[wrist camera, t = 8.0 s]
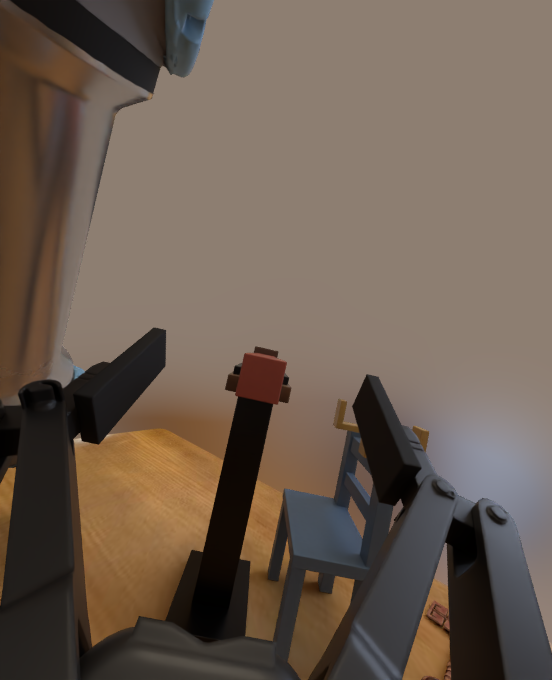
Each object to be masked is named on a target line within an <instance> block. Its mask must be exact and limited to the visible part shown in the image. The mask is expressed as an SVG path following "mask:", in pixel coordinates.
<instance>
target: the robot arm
mask: <svg viewBox="0 0 552 680" xmlns="http://www.w3.org/2000/svg"><path fill="white" fill-rule="evenodd" d="M213 1H214V0H0V483H1V481H2V479H3V477H4V475H5V473H6V471H7V469H8V468H14V467H16V474H15V483H14V492H13V501H12V510H11V519H10V528H9V537H8V546H7V555H6V564H5V573H4V582H3V591H2V599H1V605H0V680H301V679H300V678H299V676H298V675H297V673H296V672H295V671H294V669H293V668H292V667H291V666H290V665H289V664H288V663H287V662H286V661H285V660H284V659H283V658H282V657H281V656H279V655H278V654H276V642H273V641H267V640H262V639H257V638H252V637H246V636H240V637H235V638H230V639H225V640H220V641H215V642H210V643H205V642H202V641H201V640H199V639H198V638H196V637H195V636H193V635H191V634H190V633H188V632H187V631H185V630H184V629H182V628H181V627H179V626H178V625H176V624H175V623H173V622H168V621H162V620H157V619H152V618H147V617H141V616H139V618H138V620H137V623H136V625H135V627H130V628H126V629H124V630H121V631H118V632H116V633H114V634H112V635H110V636H108V637H107V638H105V639H103V640H102V641H100V642H99V643H97V644H96V645H95V646H93V647H92V643H91V633H90V625H89V619H88V612H87V601H86V588H85V575H84V563H83V550H82V537H81V524H80V512H79V499H78V486H77V473H76V461H75V448H74V440H73V439H74V438H75V437H76V436H77V435H78V434H79V433H80V434H81V439H82V441H84V442H89V443H93V444H98V445H99V444H100V442H101V441H102V440H103V439H104V438H105V437H106V435H107V434H108V433H109V432H110V431H111V430H112V428H113V427H114V426H115V425H116V424H117V422H118V421H119V420H120V419H121V418H122V416H123V415H124V414H125V413H126V412H127V410H128V409H129V408H130V407H131V406H132V405H133V403H134V402H135V401H136V400H137V399H138V398H139V397H140V395H141V394H142V393H143V392H144V391H145V389H146V388H147V387H148V386H149V385H150V384H151V382H152V381H153V380H154V379H155V378H156V377H157V375H158V374H159V373H160V372H161V370H162V369H163V368H164V367H165V359H166V330H163V329H159V328H153V329H152V330H150V331H149V332H148V333H147V334H145V335H144V336H143V337H142V338H141V339H139V340H138V341H137V342H136V343H134V344H133V345H132V346H131V347H129V348H128V349H127V350H126V351H125V352H123V353H122V354H121V355H120V356H118V357H117V358H116V359H115V360H114V361H112V362H111V363H108V362H101V363H98V364H96V365H94V366H92V367H90V368H89V369H88V370H87V371H85V372H84V370H83V369H81V368H79V367H76V366H74V365H73V361H72V358H71V356H70V354H69V353H68V352H67V350H66V349H65V348H64V347H63V346H62V344H63V340H64V335H65V331H66V327H67V322H68V318H69V314H70V309H71V305H72V301H73V296H74V292H75V288H76V283H77V279H78V275H79V270H80V265H81V262H82V257H83V253H84V249H85V244H86V240H87V236H88V231H89V227H90V223H91V218H92V214H93V210H94V205H95V201H96V197H97V193H98V188H99V184H100V179H101V175H102V171H103V166H104V162H105V158H106V154H107V149H108V145H109V141H110V136H111V132H112V128H113V124H114V119H115V115H116V114H117V112H118V111H119V110H120V109H122V108H123V107H126V106H130V105H133V104H136V103H139V102H143V101H146V100H150V99H152V96H153V92H154V88H155V85H156V81H157V78H158V74H159V71H160V68H161V66H165V67H166V68H167V69H168V71H169V73H170V74H171V75H172V74H175V75H178V76H180V77H186V76H188V75H189V74H190V72H191V70H192V69H193V66H194V64H195V61H196V58H197V56H198V53H199V50H200V45H201V41H202V37H203V34H204V29H205V24H206V19H207V18H208V16H209V13H210V9H211V7H212V4H213ZM352 407H353V411H354V414H355V418H356V421H357V425H358V429H359V432H360V436H361V439H362V443H363V447H364V450H365V454H366V457H367V461H368V465H369V468H370V472H371V475H372V478H373V483H374V486H375V490H376V493H377V497H378V501H379V503H383V504H388V505H393V506H395V505H396V504H397V502H398V501H399V499H400V498H401V501H402V503H403V506H404V507H403V508H402V510H401V511H400V512H399V514H398V515H397V517H396V518H395V519H394V521H395V522H394V524H393V526H392V528H391V530H390V532H389V534H388V535H387V537H386V539H385V541H384V543H383V545H382V547H381V548H380V550H379V552H378V554H377V556H376V558H375V560H374V562H373V563H372V565H371V567H370V569H369V571H368V573H367V575H366V576H365V578H364V580H363V582H362V584H361V586H360V588H359V589H358V591H357V593H356V595H355V597H354V599H353V601H352V603H351V604H350V606H349V608H348V610H347V612H346V614H345V616H344V617H343V619H342V621H341V623H340V625H339V627H338V629H337V630H336V632H335V634H334V636H333V638H332V640H331V642H330V644H329V645H328V647H327V649H326V651H325V653H324V655H323V656H322V658H321V660H320V661H319V663H318V664H317V666H316V667H315V669H314V670H313V672H312V674H311V675H310V677H309V679H308V680H402V677H403V674H404V671H405V667H406V664H407V661H408V658H409V655H410V652H411V648H412V645H413V642H414V639H415V636H416V633H417V629H418V626H419V623H420V620H421V617H422V614H423V610H424V607H425V604H426V601H427V598H428V595H429V591H430V588H431V585H432V582H433V579H434V575H435V572H436V569H437V566H438V563H439V560H440V556H441V553H442V550H443V547H444V544H445V543H447V565H448V597H449V629H450V660H451V680H552V652H551V648H550V645H549V641H548V637H547V634H546V630H545V627H544V623H543V620H542V616H541V612H540V609H539V605H538V602H537V598H536V594H535V591H534V587H533V584H532V580H531V577H530V573H529V569H528V566H527V563H526V559H525V555H524V552H523V548H522V544H521V541H520V537H519V534H518V530H517V527H516V524H515V522H514V520H513V518H512V517H511V516H510V514H509V513H508V512H507V511H506V510H505V509H504V508H503V507H501V506H500V505H498V504H497V503H495V502H494V501H492V500H489V499H484V498H482V499H481V500H479V501H478V502H477V503H476V504H475V503H473V502H471V501H469V500H467V499H465V498H463V497H461V496H459V495H457V493H456V490H455V489H454V488H453V486H452V485H451V484H450V483H449V482H447V481H446V480H445V479H443V478H442V477H440V476H438V475H437V473H436V472H435V470H434V468H433V466H432V464H431V462H430V460H429V458H428V456H427V454H426V452H424V449H423V447H422V445H421V444H420V441H419V439H418V437H417V435H416V434H415V433H414V432H413V431H412V430H411V429H410V428H409V427H407V426H402V425H401V423H400V421H399V419H398V417H397V415H396V413H395V411H394V409H393V407H392V404H391V402H390V401H389V398H388V396H387V394H386V392H385V390H384V388H383V386H382V384H381V382H380V380H379V377H376V376H372V375H366V378H365V379H364V382H363V384H362V386H361V388H360V391H359V393H358V395H357V397H356V399H355V402H354V404H353V406H352Z"/></svg>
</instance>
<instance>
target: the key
mask: <svg viewBox="0 0 552 680" xmlns="http://www.w3.org/2000/svg"><path fill="white" fill-rule="evenodd" d="M435 606H436V608H435V609H434V607H435ZM432 611H433V614H432V615H430V614H431V612H432ZM447 613H448V609H447V608H445V607H444V606H442V605H441V604H439V603H438V602H436V601H433V603H432V605H431V607H430V609H429V610H428V612H427V616H428V617H429V618H431V619H432V620H434V621H435V622H436V623H438V624H439V625H441V626H442V624H443V622H444V619H445V620H446V622H445V624H444V628H445V629H446V630H448V631H449V632H450V629H449V615H448V618H447V617H446V615H447ZM421 680H439V679H437V678H434V677H431V676H424V677H423V678H422V679H421ZM444 680H451V660H450V662H448V664H447V670H446V674H445V676H444Z"/></svg>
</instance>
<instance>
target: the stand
mask: <svg viewBox="0 0 552 680" xmlns="http://www.w3.org/2000/svg"><path fill="white" fill-rule="evenodd" d="M241 367H242V363H241V364H238V365H236V366H235V367H234V371H233V372H232V373H230V374H229V375H228V379H227V383H226V387H225V390H228V391H233V392H236V389H237V384H238V380H239V376H240V371H241ZM288 381H289V377H288V376H287V375H286V374H284V379H283V383H282V388H281V392H280V397H279V401H280V402H285V403H288V401H289V397H290V392H291V387H290V385H289V384H288ZM272 407H273V404H271V403H267V402H262V401H257V400H253V399H248V398H243V397H239V396H238V399H237V404H236V408H235V413H234V418H233V422H232V426H231V430H230V435H229V439H228V444H227V448H226V453H225V457H224V462H223V466H222V470H221V475H220V479H219V484H218V488H217V493H216V497H215V502H214V506H213V510H212V515H211V519H210V524H209V528H208V533H207V537H206V542H205V546H204V550H203V552H200V551H195V550H191V553H190V556H189V558H188V561H187V564H186V567H185V569H184V572H183V575H182V577H181V580H180V583H179V585H178V588H177V591H176V593H175V596H174V599H173V601H172V604H171V607H170V609H169V612H168V615H167V617H166V620H165V621H168V622H173V623H175V624H176V625H178V626H179V627H181V628H182V629H184V630H185V631H187V632H188V633H190V634H191V635H193V636H195V637H196V638H198V639H199V640H201V641H202V642H205V643H210V642H215V641H220V640H225V639H230V638H235V637H240V636H245V631H246V617H247V603H248V589H249V575H250V561H246V560H241V559H240V555H241V550H242V545H243V541H244V536H245V532H246V527H247V522H248V518H249V513H250V508H251V504H252V499H253V495H254V490H255V485H256V481H257V476H258V472H259V467H260V462H261V457H262V453H263V449H264V444H265V439H266V434H267V430H268V425H269V420H270V416H271V411H272Z"/></svg>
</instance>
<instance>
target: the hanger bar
mask: <svg viewBox="0 0 552 680" xmlns="http://www.w3.org/2000/svg"><path fill="white" fill-rule="evenodd" d="M277 356H278V351H274V350H270V349H265V348H261V347H255V351H254V353H245V354H244V358H243V363H242V367H241V371H240V376H239V380H238V384H237V389H236V393H235V395H236V396H239V397H243V398H248V399H253V400H257V401H262V402H267V403H271V404H278V402H279V397H280V392H281V388H282V383H283V379H284V374H285V369H286V365H287V362H285V361H283V360H281V359H278V358H277Z"/></svg>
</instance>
